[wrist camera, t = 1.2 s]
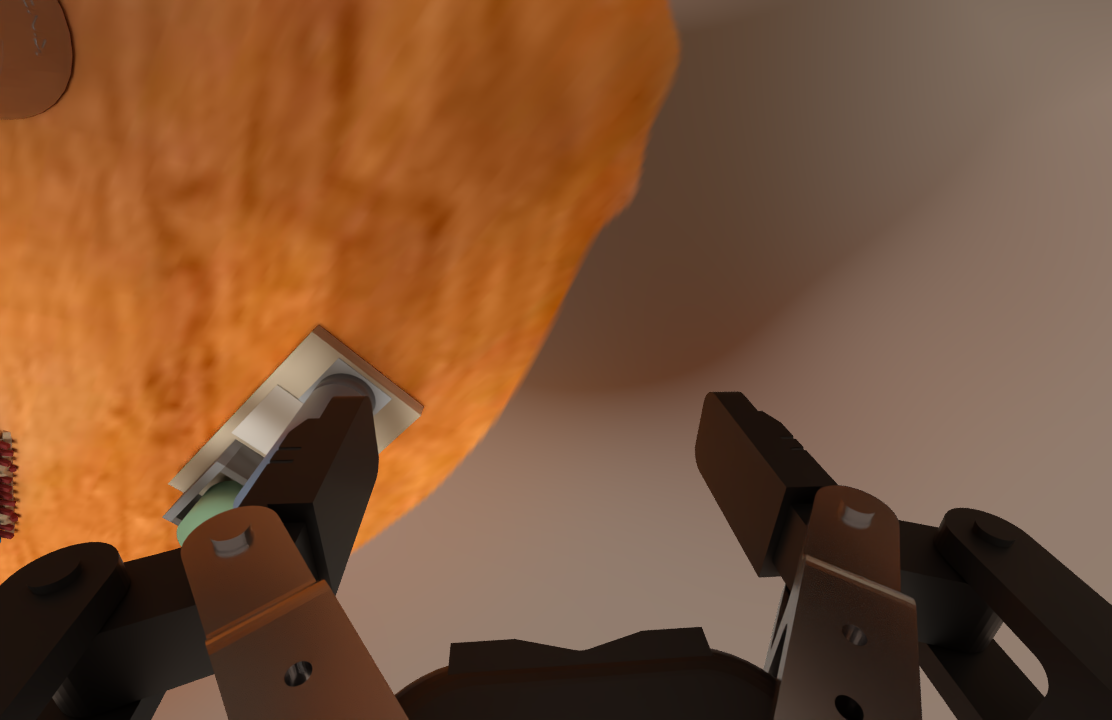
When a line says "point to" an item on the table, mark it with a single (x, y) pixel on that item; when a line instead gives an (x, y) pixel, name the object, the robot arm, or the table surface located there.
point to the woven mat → (7, 487)
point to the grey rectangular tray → (286, 417)
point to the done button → (209, 507)
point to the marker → (313, 414)
